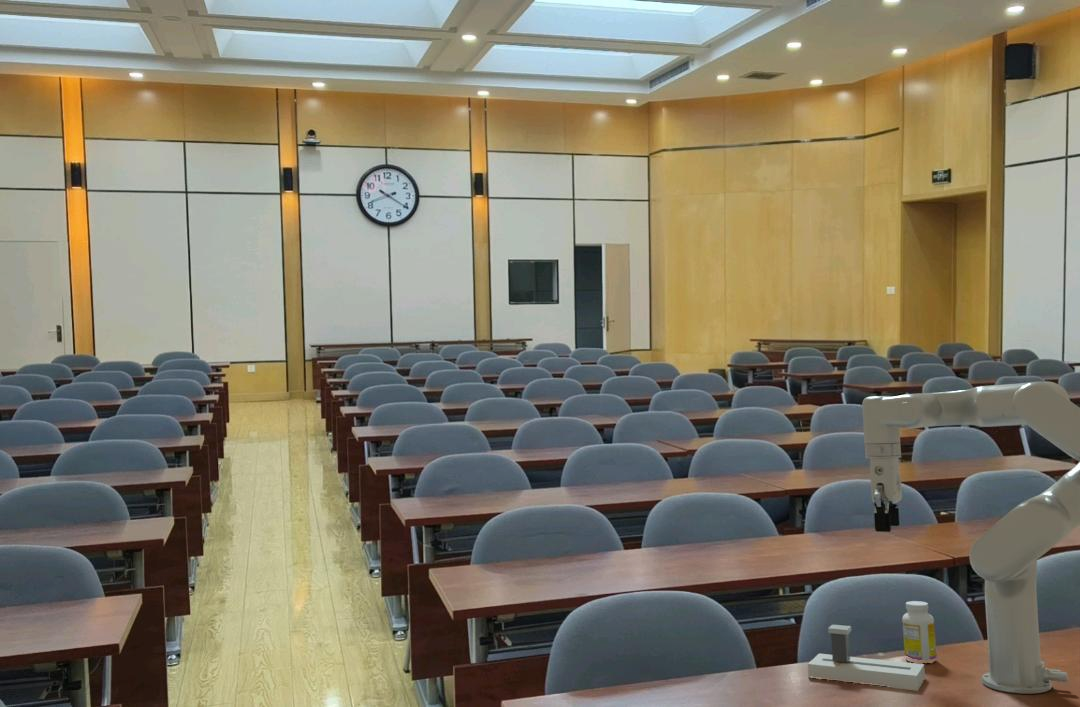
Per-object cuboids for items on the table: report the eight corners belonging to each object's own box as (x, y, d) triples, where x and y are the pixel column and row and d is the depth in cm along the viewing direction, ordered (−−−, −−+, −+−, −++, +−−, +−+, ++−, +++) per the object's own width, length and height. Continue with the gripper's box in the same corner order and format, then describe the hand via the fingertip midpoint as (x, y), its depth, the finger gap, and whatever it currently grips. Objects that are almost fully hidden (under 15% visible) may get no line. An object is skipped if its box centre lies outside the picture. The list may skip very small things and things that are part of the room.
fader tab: (852, 659, 200) (851, 626, 201) (849, 663, 197) (847, 629, 198) (834, 657, 203) (832, 624, 203) (829, 661, 199) (828, 628, 200)
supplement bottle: (931, 656, 211) (927, 599, 212) (941, 664, 205) (937, 606, 205) (901, 657, 212) (897, 600, 213) (909, 665, 205) (906, 606, 206)
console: (925, 678, 195) (924, 663, 196) (917, 690, 188) (916, 675, 188) (819, 667, 207) (818, 653, 207) (808, 678, 199) (807, 663, 199)
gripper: (892, 453, 198) (897, 534, 197) (907, 448, 213) (912, 524, 212) (856, 453, 202) (861, 533, 201) (873, 449, 217) (878, 523, 216)
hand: (887, 528), depth 206 cm, fingers open, 9 cm apart
